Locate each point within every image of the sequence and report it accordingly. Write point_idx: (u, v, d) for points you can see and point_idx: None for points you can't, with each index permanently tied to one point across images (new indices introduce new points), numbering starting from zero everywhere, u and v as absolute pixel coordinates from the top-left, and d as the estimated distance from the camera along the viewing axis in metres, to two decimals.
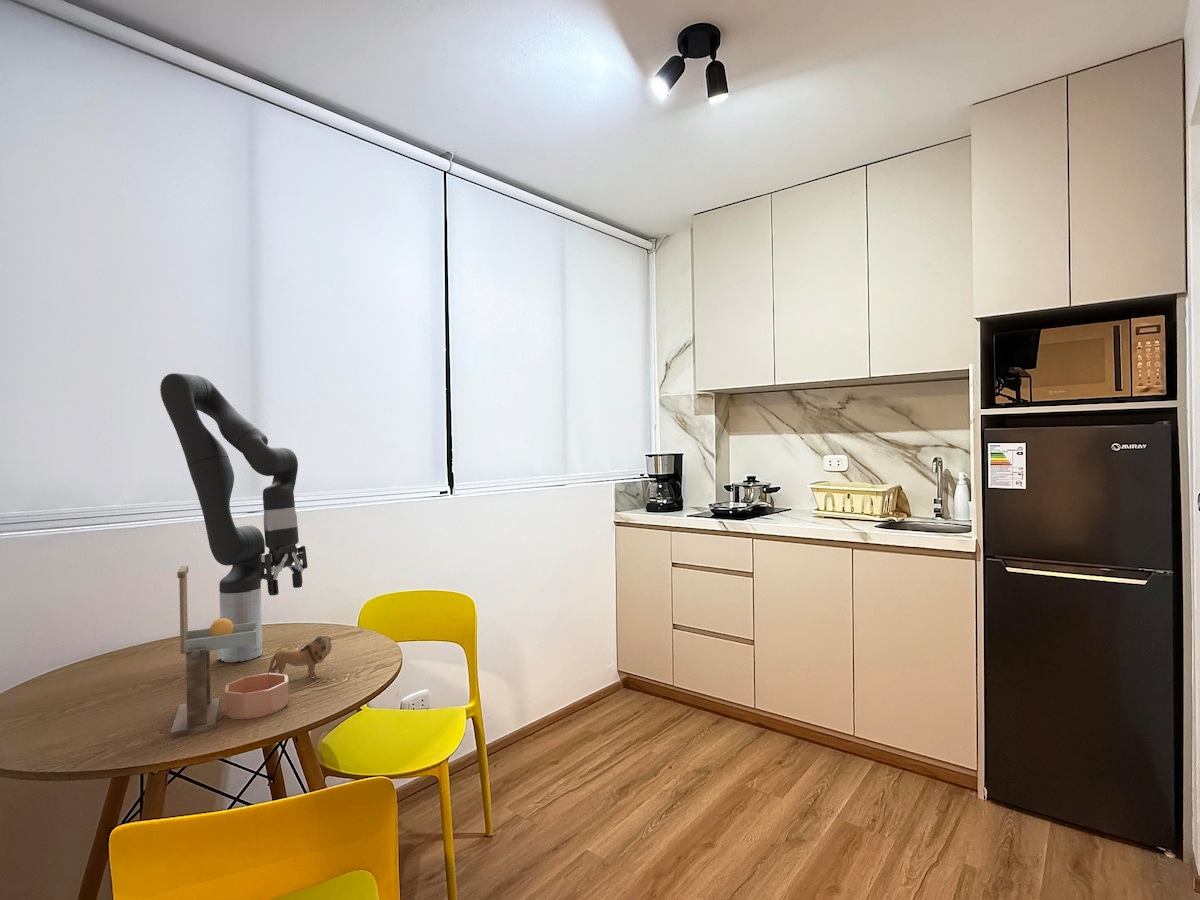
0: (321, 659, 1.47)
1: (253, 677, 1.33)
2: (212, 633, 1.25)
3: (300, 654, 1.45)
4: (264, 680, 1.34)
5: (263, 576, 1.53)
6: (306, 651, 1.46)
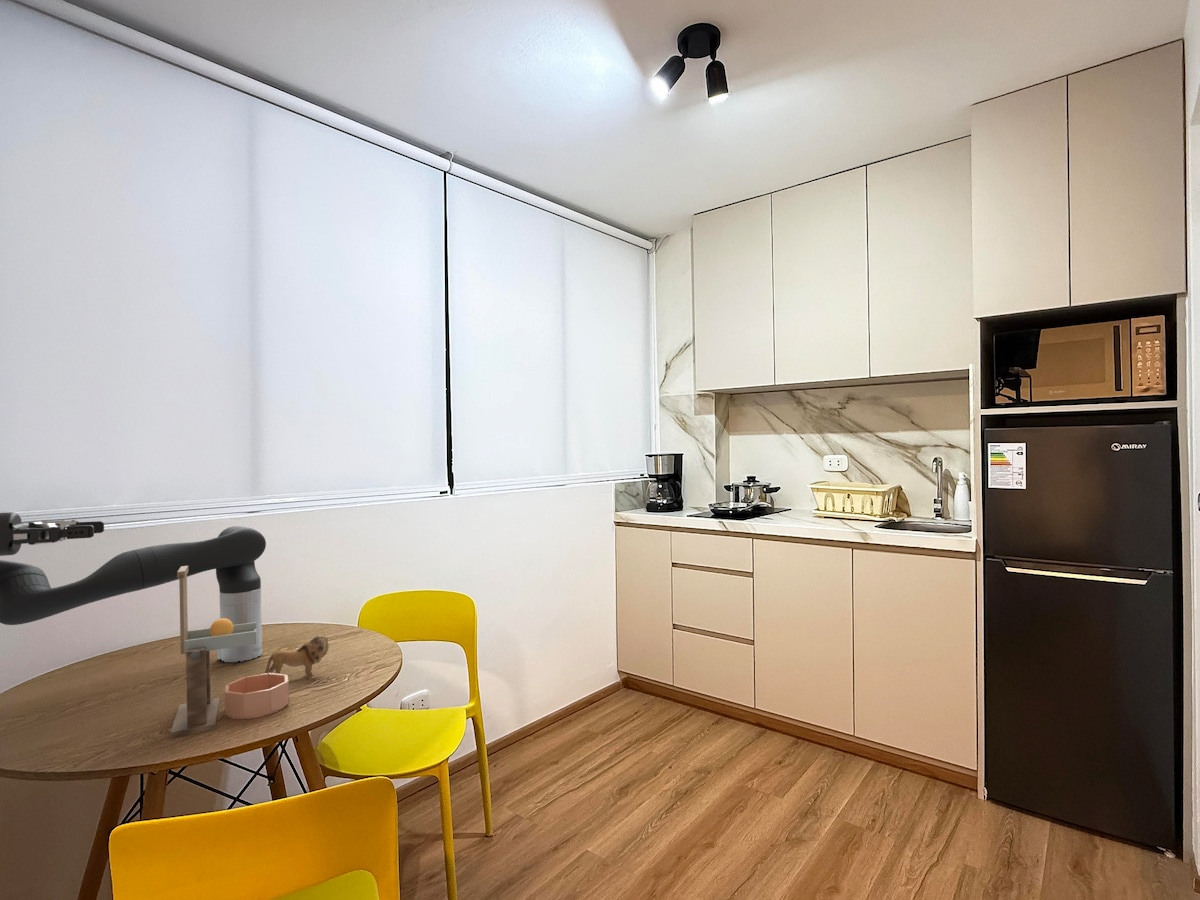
0: (318, 659, 1.47)
1: (253, 677, 1.33)
2: (212, 633, 1.25)
3: (297, 654, 1.45)
4: (264, 680, 1.34)
5: (51, 535, 1.09)
6: (303, 651, 1.46)
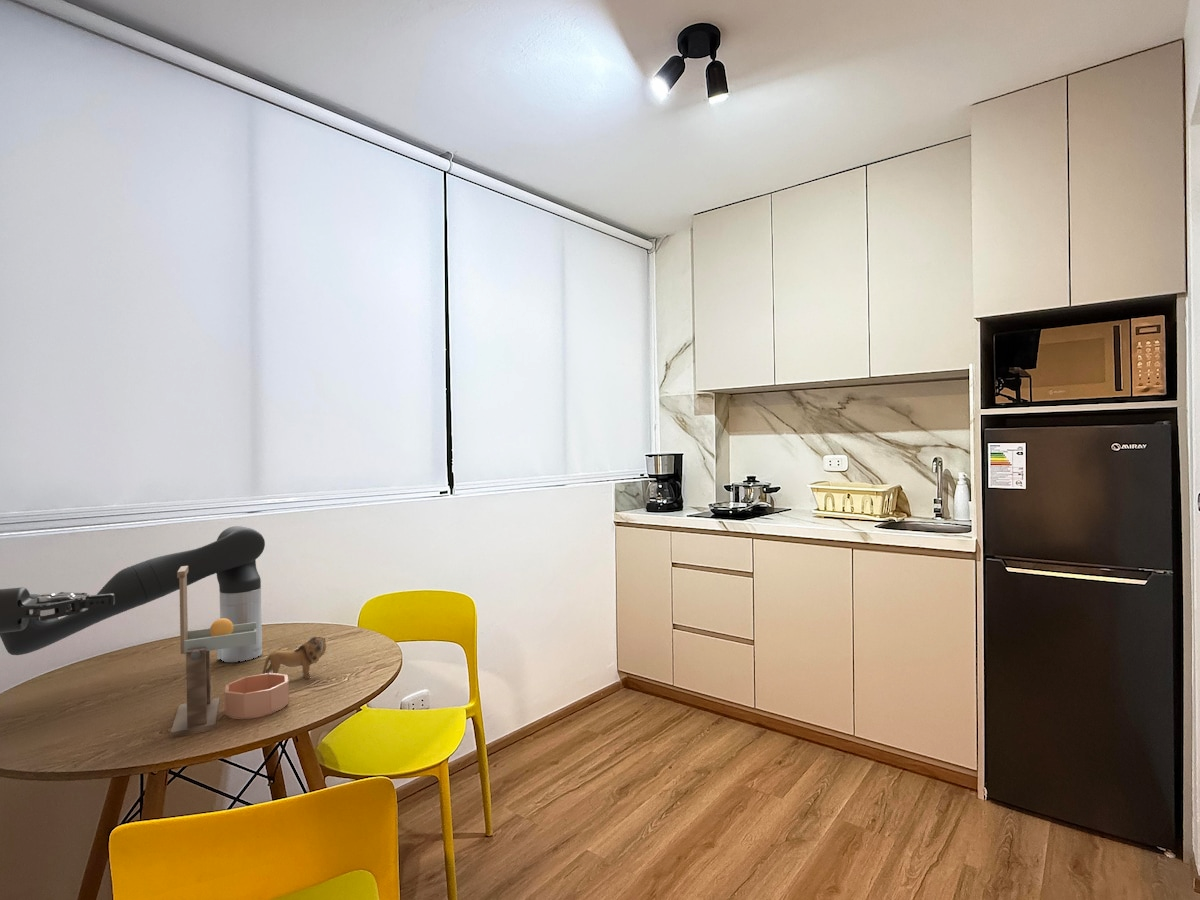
0: (316, 660, 1.47)
1: (253, 677, 1.33)
2: (212, 633, 1.25)
3: (294, 654, 1.45)
4: (264, 680, 1.34)
5: (74, 606, 1.13)
6: (300, 651, 1.46)
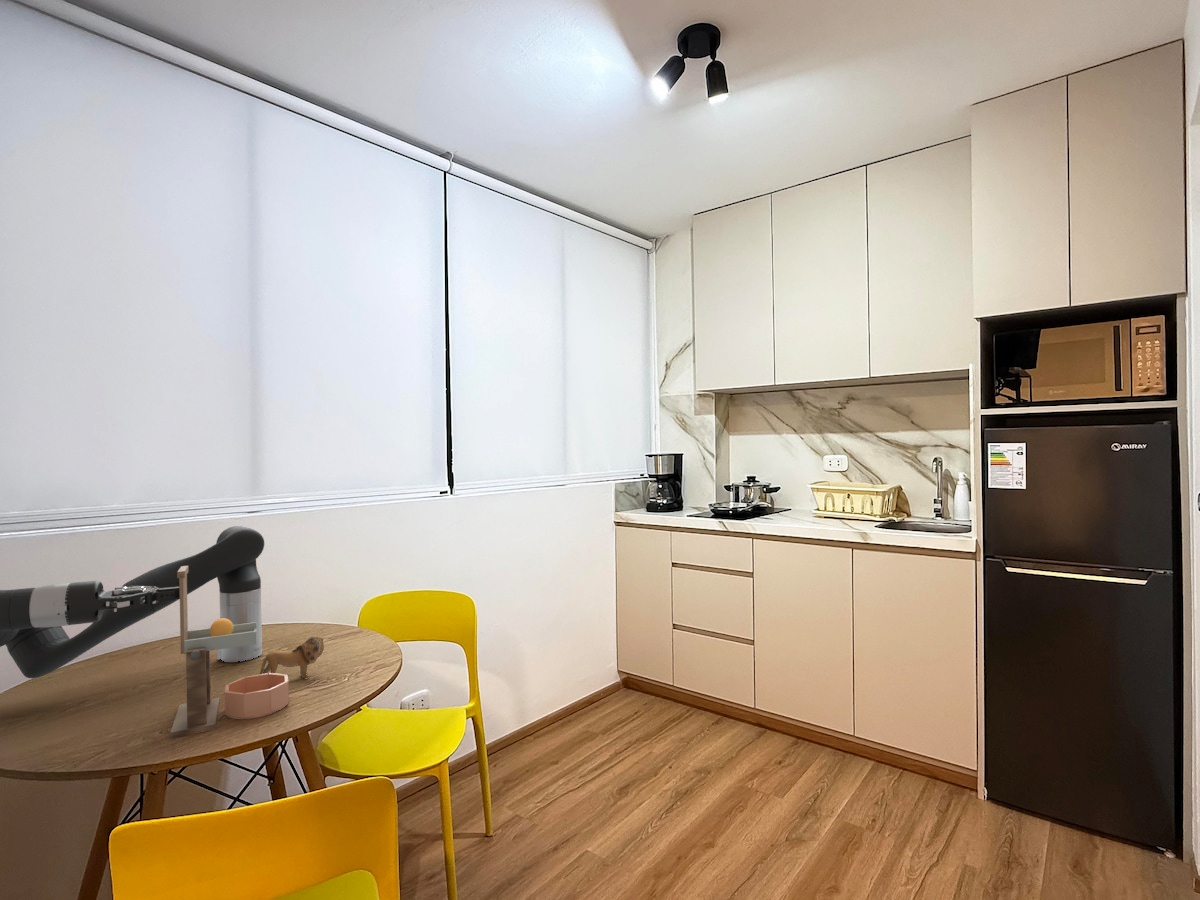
0: (313, 660, 1.47)
1: (253, 677, 1.33)
2: (212, 633, 1.25)
3: (292, 655, 1.45)
4: (264, 680, 1.34)
5: (147, 599, 1.18)
6: (298, 652, 1.45)
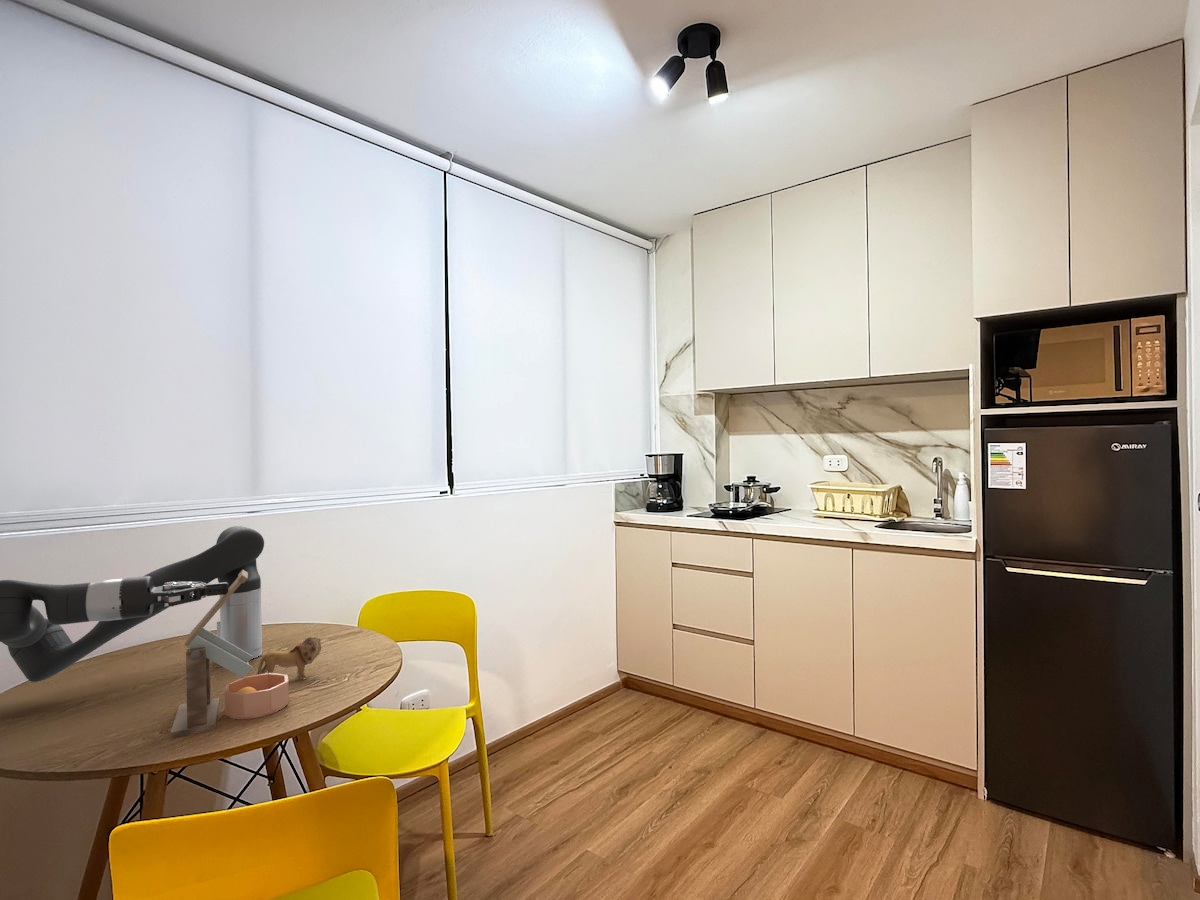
0: (311, 660, 1.46)
1: (253, 677, 1.33)
2: (248, 691, 1.28)
3: (289, 655, 1.45)
4: (264, 680, 1.34)
5: (196, 594, 1.22)
6: (295, 652, 1.45)
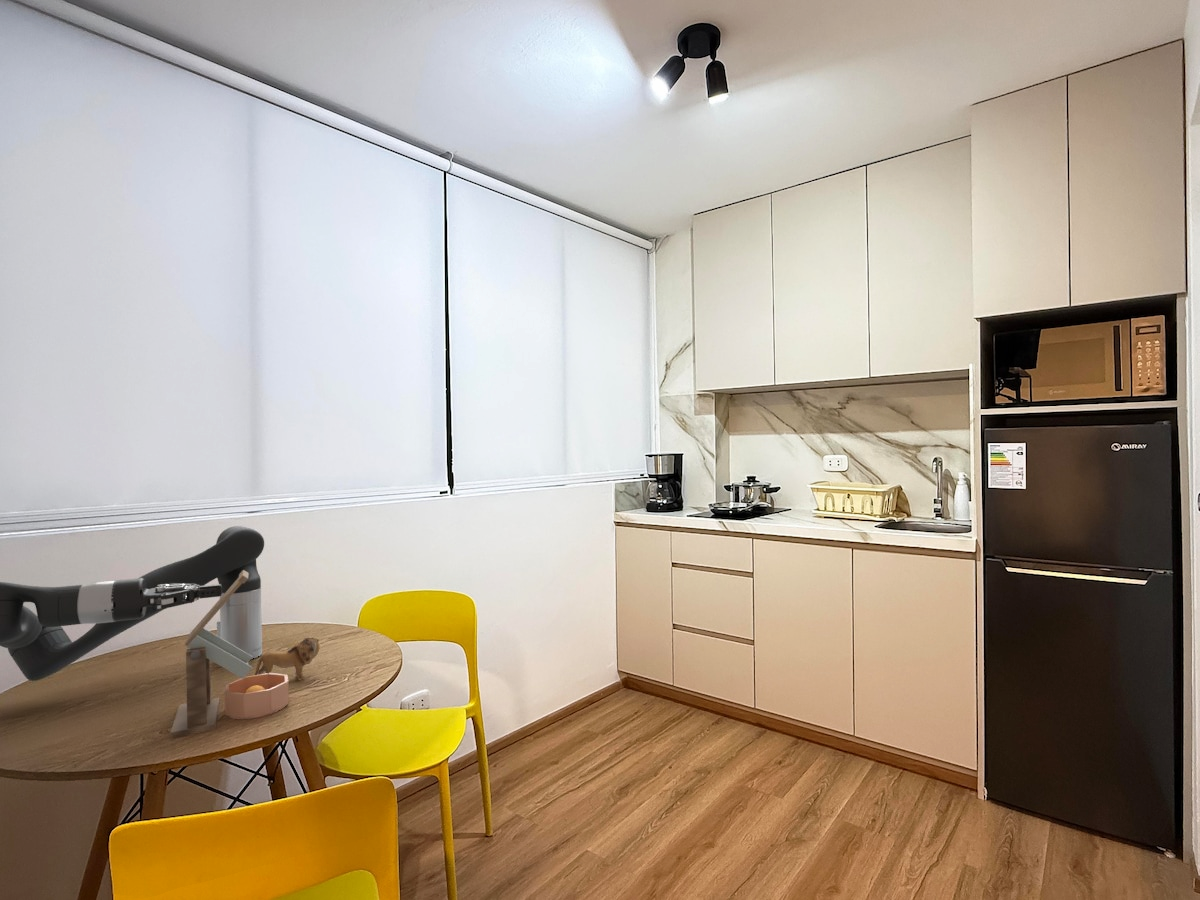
0: (309, 661, 1.46)
1: (253, 677, 1.33)
2: None
3: (287, 655, 1.44)
4: (264, 680, 1.34)
5: (189, 596, 1.21)
6: (293, 652, 1.45)
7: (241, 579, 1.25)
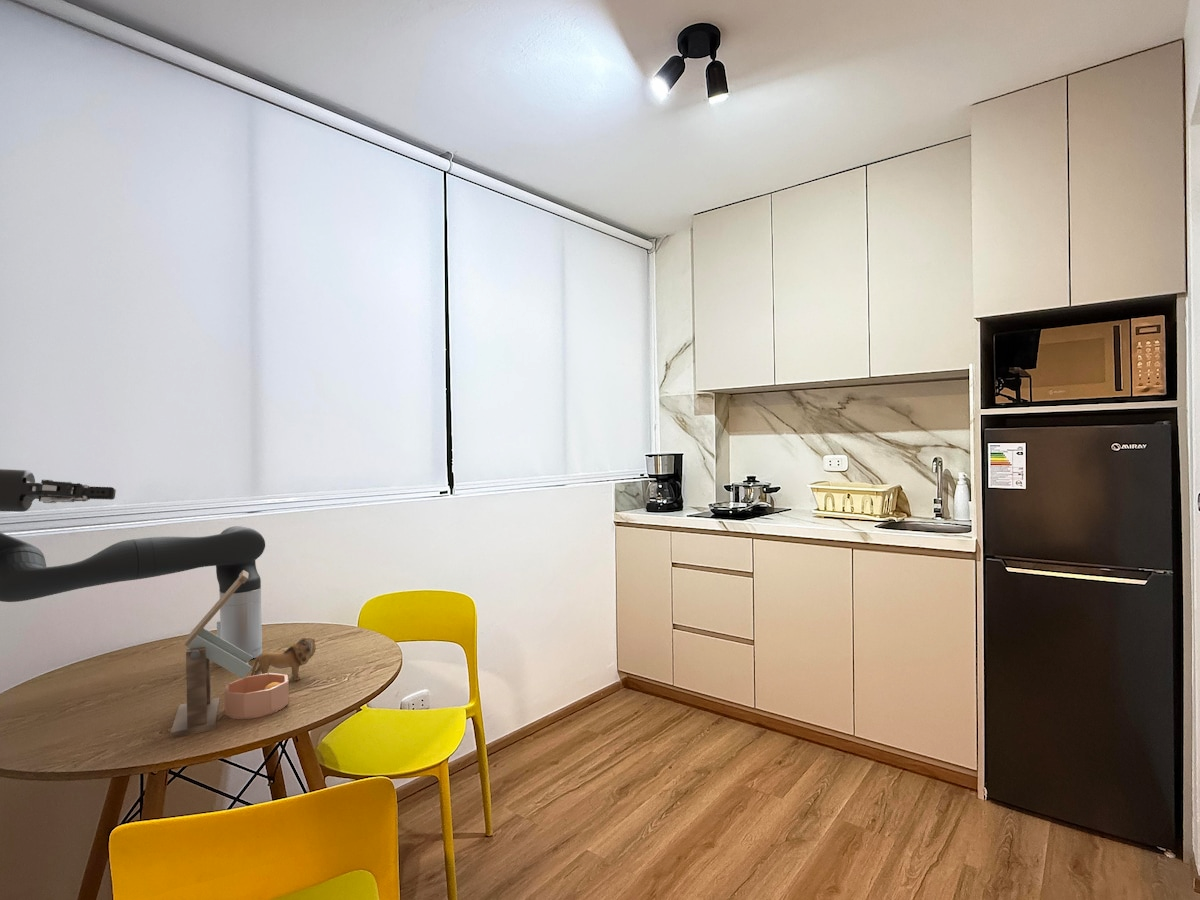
0: (305, 661, 1.46)
1: (253, 677, 1.33)
2: None
3: (284, 656, 1.44)
4: (264, 680, 1.34)
5: (75, 490, 1.16)
6: (290, 653, 1.45)
7: (241, 579, 1.25)
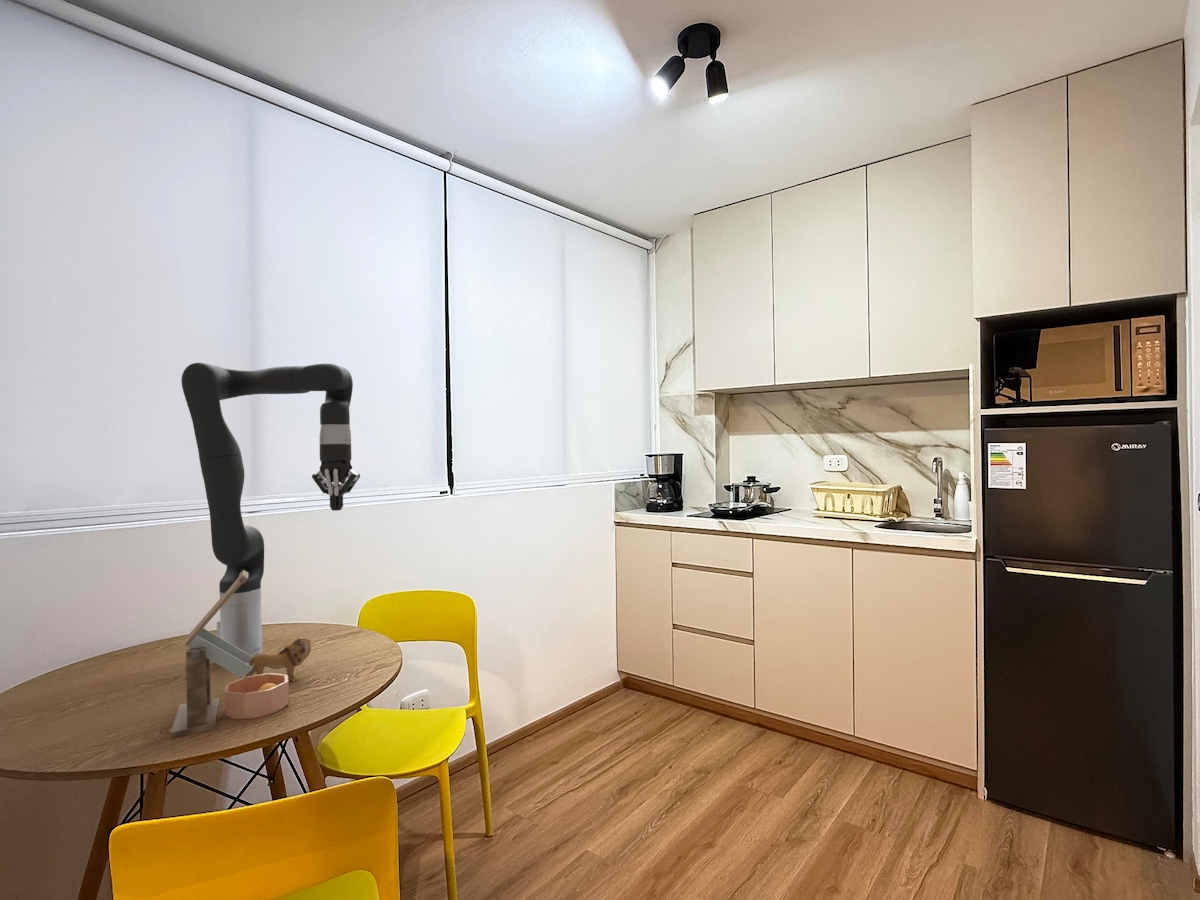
0: (300, 662, 1.46)
1: (253, 677, 1.33)
2: None
3: (279, 656, 1.44)
4: (264, 680, 1.34)
5: (347, 490, 1.62)
6: (285, 653, 1.44)
7: (241, 579, 1.25)
